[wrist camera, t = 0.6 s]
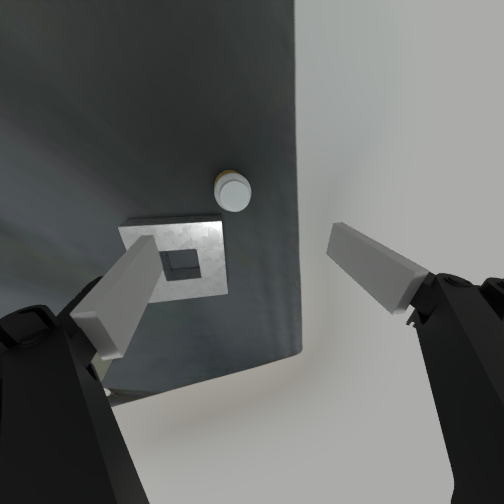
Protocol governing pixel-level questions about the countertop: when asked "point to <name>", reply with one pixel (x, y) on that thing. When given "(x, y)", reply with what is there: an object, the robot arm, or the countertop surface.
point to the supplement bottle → (232, 191)
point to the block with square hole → (178, 238)
